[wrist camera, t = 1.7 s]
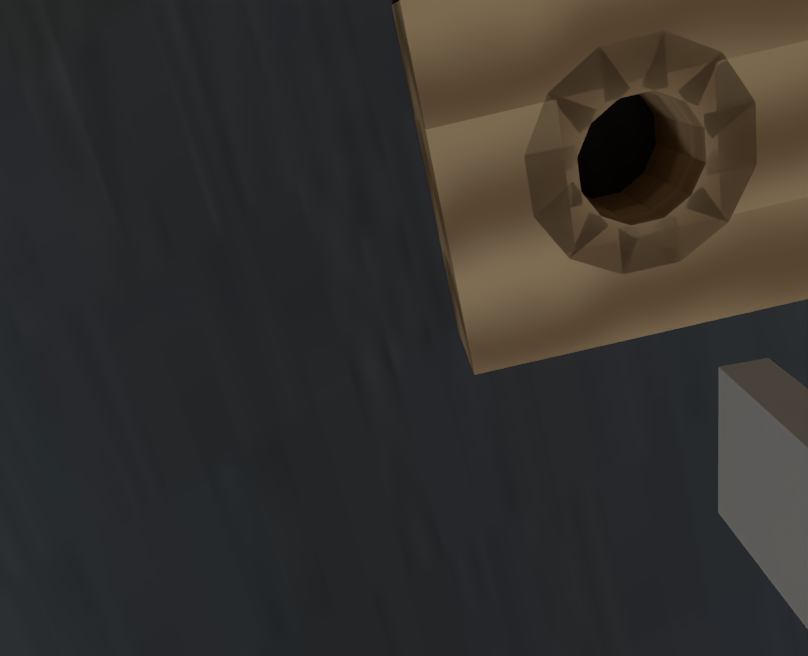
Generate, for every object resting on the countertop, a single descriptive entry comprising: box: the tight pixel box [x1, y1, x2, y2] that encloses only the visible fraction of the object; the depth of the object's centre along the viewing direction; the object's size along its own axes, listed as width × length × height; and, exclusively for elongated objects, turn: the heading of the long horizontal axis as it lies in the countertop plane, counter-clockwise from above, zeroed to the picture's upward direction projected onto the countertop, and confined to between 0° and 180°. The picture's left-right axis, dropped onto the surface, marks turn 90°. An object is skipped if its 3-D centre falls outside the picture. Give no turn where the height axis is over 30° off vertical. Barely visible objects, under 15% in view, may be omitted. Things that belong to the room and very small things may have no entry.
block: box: [392, 0, 808, 375], centre depth 30 cm, size 15×16×5 cm
